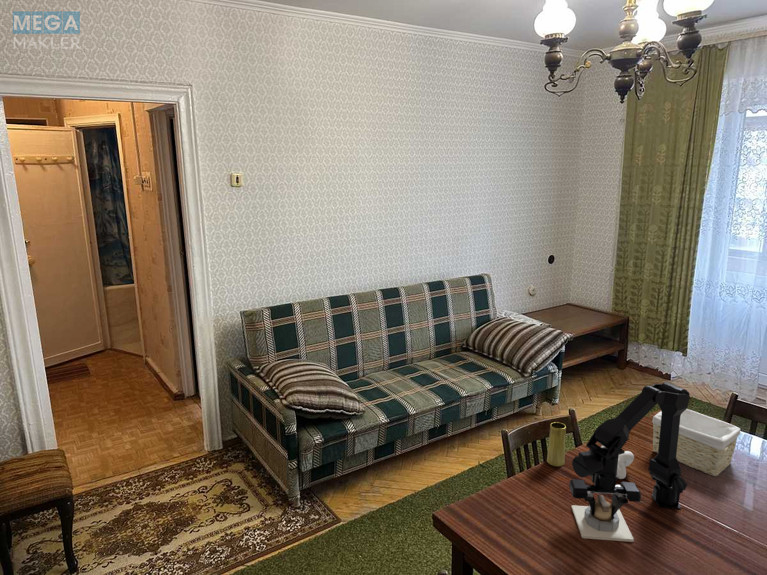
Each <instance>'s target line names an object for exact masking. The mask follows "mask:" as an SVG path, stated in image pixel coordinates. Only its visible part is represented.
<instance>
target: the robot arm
mask: <svg viewBox="0 0 767 575" xmlns="http://www.w3.org/2000/svg"><path fill="white" fill-rule="evenodd" d="M690 397H691V394H690V392H689V391H688V390H687V389H685V388H684V387H683V388H682V387H680V386H678V385H676V384H674V383H671V382H669V381H665V382H663V383H653V384H652V385H644V387H643V388H642V389H641V392H640V393H639V394H638V395H637V396H636V397H635V398H634V399H632V401H630V403H629V404H628V405H627V406H626V407H625V408H624V409H623V410H622V411H621V412H620V413H619V414H618V415H617V416H616V417H614V418H610V419H606V420H605V421H603V422H602V423H601V424H600V425H598V426H597V427H596V428H595V430H594V431H593V433H592V435H591V437H590V438H589V440H588V441H587V443H586V445H585V447H586V448H587V449H589V450H587V451H580V452H578V455H577V456H574V457H573V459H572V461H571V462H572V468H573V471H574V473H575V474H576V475H577V477H579V478H581V479H575V478H574V479H573V478H572V479H570V481H569V483H568V488H569V490H570V492H571V495H572V498H574V499H583V501H585V502H588V506H590V510H591V514H592V516H594V513H595V501H596V499H595V497H594V494H602V495H603V494H606V495H611V496H612V497H611V503H610V504H611V505H612V513H611V517H613V516H614V515H615V513H616V512H617V511H618V510H621V508H622V507H623V506H624V505H626V504H628V503H629V502H636V503H640V502H641V500H642V493H641V491H640V489H639V488H638V486H637V484H636V483H635V482H628V481H621V482H620V484H617V481H618V479H619V478H618V477H617V467H618V457H619V455H620V454H623V453H625V451H626V450H623V447H624V446H625V445H626V443H627V442H628V440H629V439H630V438H629V437H630V433H631V431H632V429H634V428H635V427H636V426H637V425H638V424H639V422H640V421H641V420H643V419H644V417H646V416H647V415H648V413H649V412H650V411H652V410H653V408H655V406H657V405H658V407H659V409H660V411H662V415H661V426H660V436H659V447H658V453H656V455H655V456H654V457H653V458H651V459H649V462H648V463H649V465H648V466H649V467H648V468H647V470H648V472H649V476H650V477H651V479H652V481H655V485H653V489H652V490H653V491H652V494H651V497H652V498H653V500H654V502H655V503H656V505H657V506H658V508H665V509H666V508H667V509H682V506H681V505H680V496H681V494H683V492H684V491H686V488H687V487H688V483H687V481H686V480H685V479H683V477H682V467H681V465H680V462H679V461H677V458H676V454H677V444H678V435H679V425H680V416H681V414H682V413H683V412H684V411H685V410H686V409H688V407H689V402H690V399H691V398H690ZM597 443H598V444H599V445H598V444H597ZM600 445H601V446H602V445H603V446H604V447H603V448H601V446H600ZM587 477H591V482H592V483H593V484H591V485H590V484H586V482H585V480H584V479H582V478H587Z"/></svg>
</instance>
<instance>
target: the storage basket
mask: <svg viewBox="0 0 767 575" xmlns="http://www.w3.org/2000/svg"><path fill="white" fill-rule="evenodd" d="M661 415H662V411H661V410H660V411H659V412H657V413H656V414H655V415H654V416H653V418H652V420H651V421H652V424H653V426H652V427H653V428H652V429H653V433H652V436H653V438H652V445H653V446H652V450H653V452H655V453H656V454H658V447H659V436H660V426H661ZM740 435H741V428H740V427H738V426H736V425H734V424H731V423H728V422H726V421H723V420H720V419H718V418H715V417H711V416H709V415H706V414H702V413H699V412H698V411H694V410H691V409H688V408H687V409H686V410H685V411H684V412H683V413H682V414H681V416H680V425H679V435H678V444H677V454H676V458H677V461H678V463H681V464H683V465H685V466H687V467H690V468H692V469H696V470H697V471H701V472H703V473H704V474H708V475H710V476H713V477H717V476H719V475H720V474H721V473H722V472H723V471H725V469H726V468H727V467H729V466H730V464H732V459H733V455H734V453H735V449H736V444H737V441H738V437H739V436H740Z"/></svg>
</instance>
